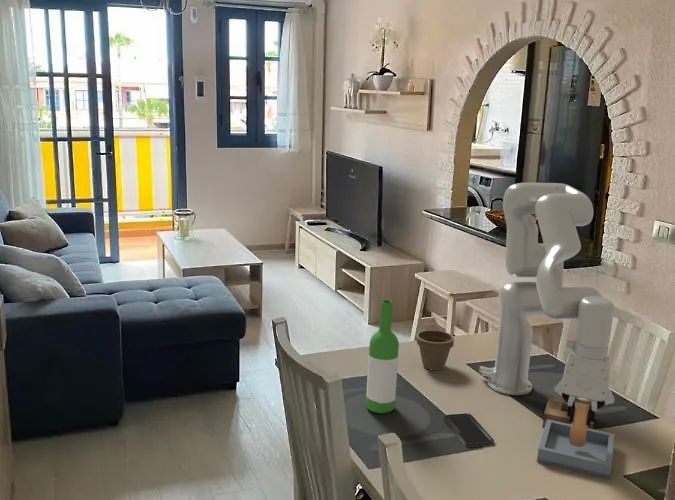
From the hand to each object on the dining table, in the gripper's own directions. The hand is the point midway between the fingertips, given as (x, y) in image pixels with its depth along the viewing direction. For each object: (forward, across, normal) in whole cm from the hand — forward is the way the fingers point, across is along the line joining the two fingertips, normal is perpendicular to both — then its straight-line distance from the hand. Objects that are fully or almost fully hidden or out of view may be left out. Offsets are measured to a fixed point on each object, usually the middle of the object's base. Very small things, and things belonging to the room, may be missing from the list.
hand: (580, 421), depth 164 cm
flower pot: (+9, -45, +34) cm, 57 cm away
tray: (+9, 0, 0) cm, 9 cm away
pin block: (+9, -3, +16) cm, 18 cm away
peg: (+6, 0, 0) cm, 6 cm away
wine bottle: (+9, -50, 0) cm, 51 cm away
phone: (+9, -26, -1) cm, 28 cm away
